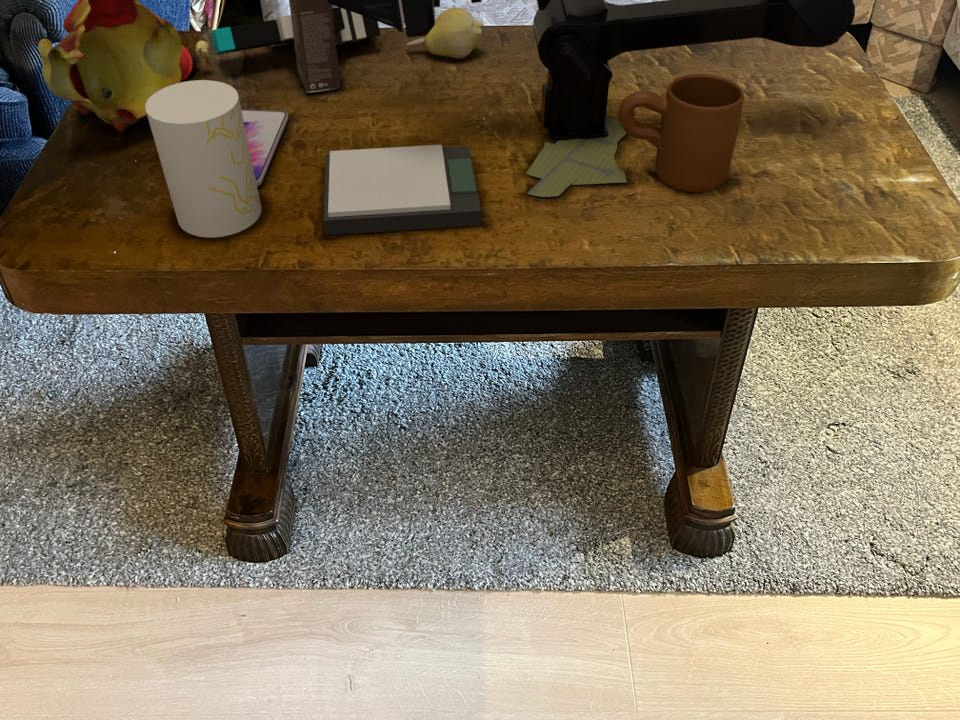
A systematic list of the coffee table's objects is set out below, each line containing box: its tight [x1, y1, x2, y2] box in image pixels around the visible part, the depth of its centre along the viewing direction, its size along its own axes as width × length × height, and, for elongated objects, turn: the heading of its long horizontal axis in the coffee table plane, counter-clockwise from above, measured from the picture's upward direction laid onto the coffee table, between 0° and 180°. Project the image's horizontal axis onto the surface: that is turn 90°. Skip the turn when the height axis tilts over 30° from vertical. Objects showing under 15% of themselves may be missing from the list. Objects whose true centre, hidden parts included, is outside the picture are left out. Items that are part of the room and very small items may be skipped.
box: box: [288, 0, 341, 94], centre depth 104 cm, size 6×4×12 cm
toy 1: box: [37, 0, 183, 132], centre depth 96 cm, size 15×15×13 cm
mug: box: [617, 73, 745, 193], centre depth 89 cm, size 12×8×9 cm, turn 87°
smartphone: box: [241, 108, 289, 187], centre depth 96 cm, size 7×1×15 cm
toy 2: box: [209, 5, 381, 56], centre depth 111 cm, size 10×5×20 cm
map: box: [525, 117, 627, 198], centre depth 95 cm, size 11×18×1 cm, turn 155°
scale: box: [323, 144, 482, 236], centre depth 89 cm, size 15×12×2 cm
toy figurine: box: [179, 40, 210, 82], centre depth 107 cm, size 8×4×8 cm
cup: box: [145, 79, 262, 238], centre depth 84 cm, size 8×8×12 cm
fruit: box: [406, 7, 485, 60], centre depth 112 cm, size 6×6×10 cm
